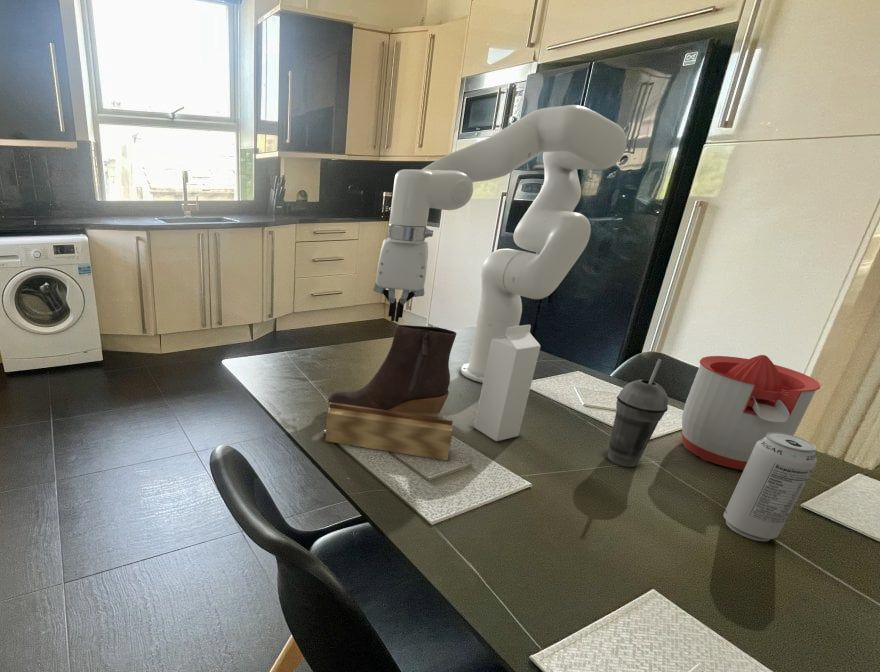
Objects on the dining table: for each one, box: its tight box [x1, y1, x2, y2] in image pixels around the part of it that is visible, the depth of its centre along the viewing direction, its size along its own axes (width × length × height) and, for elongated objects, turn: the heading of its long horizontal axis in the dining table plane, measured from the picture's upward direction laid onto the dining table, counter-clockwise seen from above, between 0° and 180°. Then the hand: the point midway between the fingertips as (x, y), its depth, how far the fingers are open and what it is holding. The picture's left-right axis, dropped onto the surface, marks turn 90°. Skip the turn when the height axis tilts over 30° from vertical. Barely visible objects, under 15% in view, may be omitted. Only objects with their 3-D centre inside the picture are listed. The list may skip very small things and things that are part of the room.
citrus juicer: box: [680, 354, 821, 471], centre depth 86 cm, size 16×17×20 cm
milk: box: [473, 324, 541, 442], centre depth 92 cm, size 6×6×22 cm
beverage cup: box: [607, 358, 669, 468], centre depth 84 cm, size 7×7×20 cm
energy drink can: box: [723, 432, 818, 542], centre depth 68 cm, size 6×6×15 cm
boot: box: [326, 324, 457, 417], centre depth 98 cm, size 9×24×20 cm, turn 84°
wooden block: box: [324, 402, 454, 461], centre depth 89 cm, size 22×3×7 cm, turn 75°
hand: (394, 319), depth 106 cm, fingers closed
